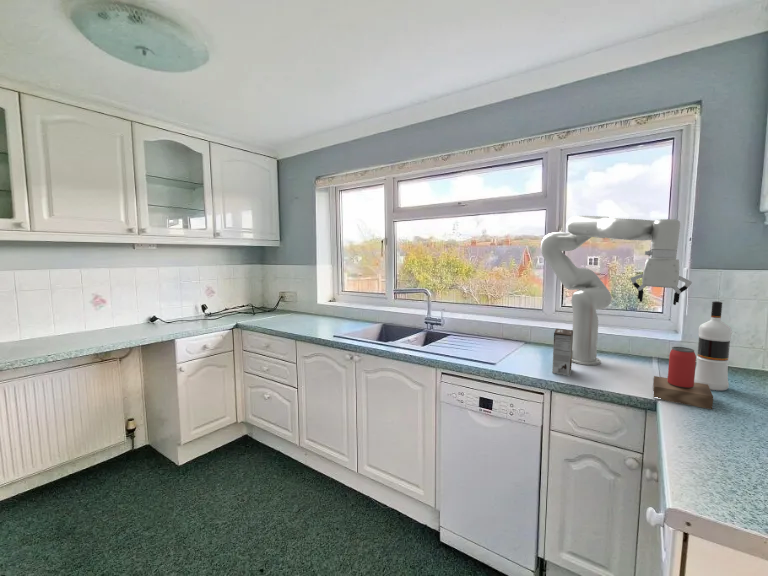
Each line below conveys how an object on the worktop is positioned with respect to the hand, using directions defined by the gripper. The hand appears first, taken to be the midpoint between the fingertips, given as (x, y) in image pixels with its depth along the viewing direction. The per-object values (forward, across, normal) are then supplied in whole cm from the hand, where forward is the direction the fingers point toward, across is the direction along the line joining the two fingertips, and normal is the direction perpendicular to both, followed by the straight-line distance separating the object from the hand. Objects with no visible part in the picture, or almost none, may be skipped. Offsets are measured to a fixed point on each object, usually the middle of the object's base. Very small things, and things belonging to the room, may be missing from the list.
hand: (657, 302), depth 129 cm
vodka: (+28, +17, +4) cm, 34 cm away
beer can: (+24, +8, -14) cm, 29 cm away
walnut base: (+28, +9, -14) cm, 33 cm away
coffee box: (+30, -27, -9) cm, 41 cm away
